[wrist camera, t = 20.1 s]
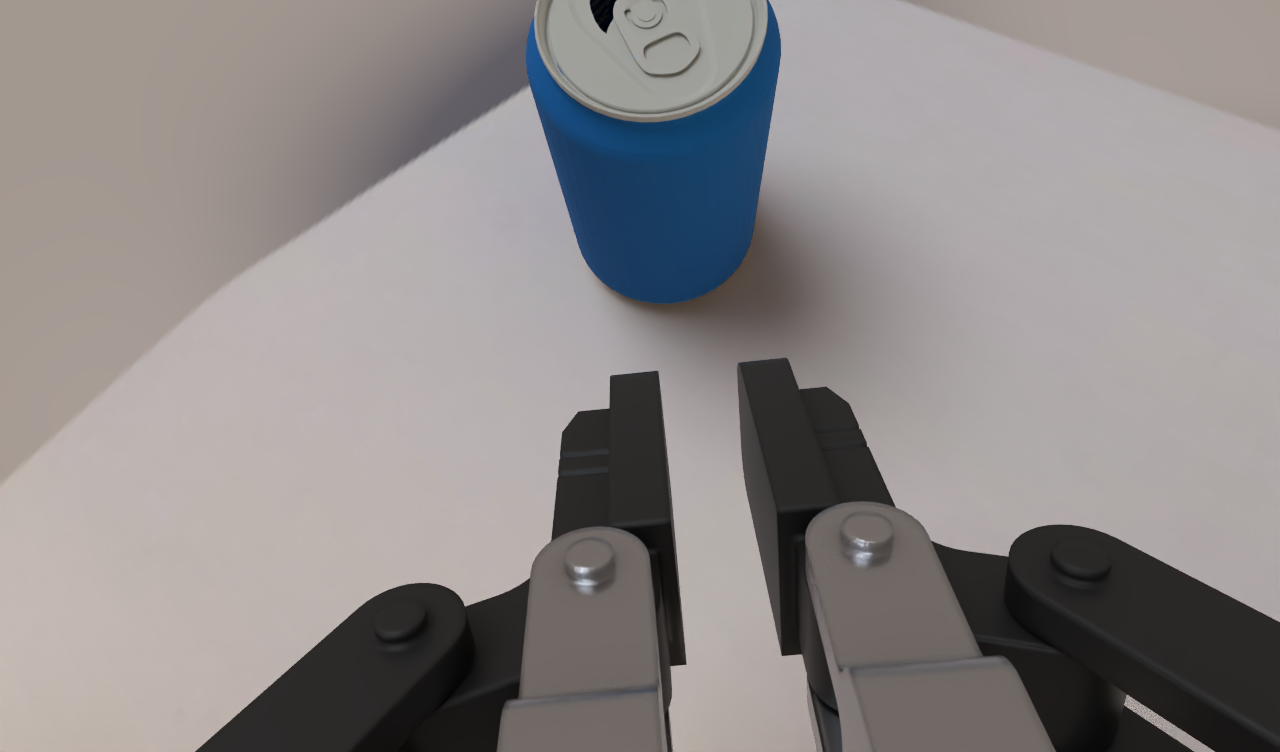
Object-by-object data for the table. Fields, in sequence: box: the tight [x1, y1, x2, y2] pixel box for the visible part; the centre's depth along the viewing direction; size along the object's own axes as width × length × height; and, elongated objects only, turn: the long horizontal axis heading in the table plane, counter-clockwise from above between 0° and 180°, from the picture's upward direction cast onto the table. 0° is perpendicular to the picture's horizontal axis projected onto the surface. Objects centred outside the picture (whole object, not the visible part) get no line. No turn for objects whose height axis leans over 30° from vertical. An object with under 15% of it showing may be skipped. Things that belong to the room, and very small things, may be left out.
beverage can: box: [526, 0, 781, 304], centre depth 26 cm, size 6×6×12 cm
